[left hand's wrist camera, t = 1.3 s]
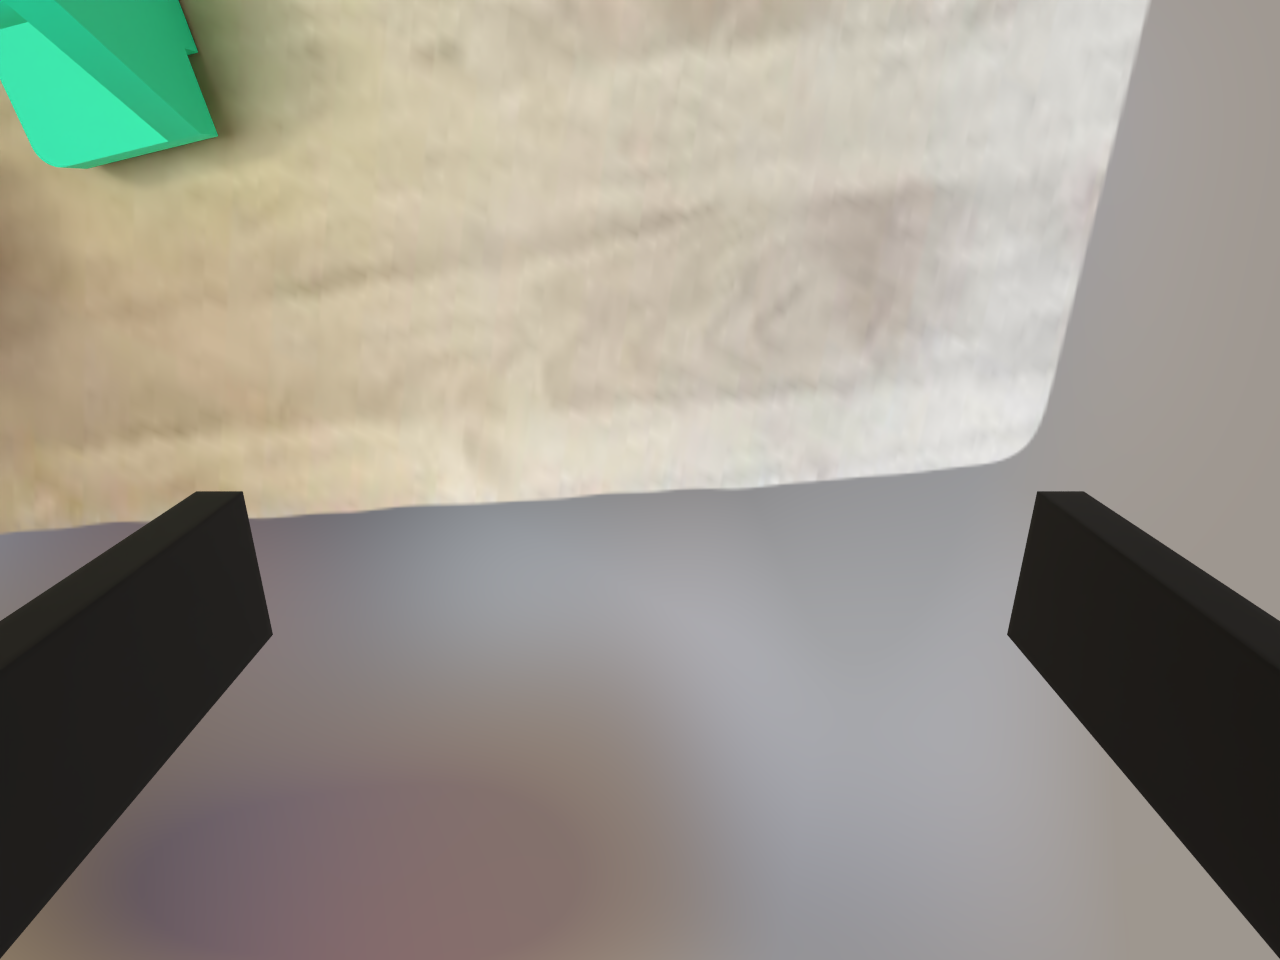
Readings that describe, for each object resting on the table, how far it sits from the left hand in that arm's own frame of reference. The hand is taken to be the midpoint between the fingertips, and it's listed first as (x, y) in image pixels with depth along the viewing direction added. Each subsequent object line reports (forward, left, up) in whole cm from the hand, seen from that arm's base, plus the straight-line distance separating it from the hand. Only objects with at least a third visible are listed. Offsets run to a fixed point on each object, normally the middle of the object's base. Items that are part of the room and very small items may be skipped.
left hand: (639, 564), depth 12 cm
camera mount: (-14, -25, -28) cm, 40 cm away
